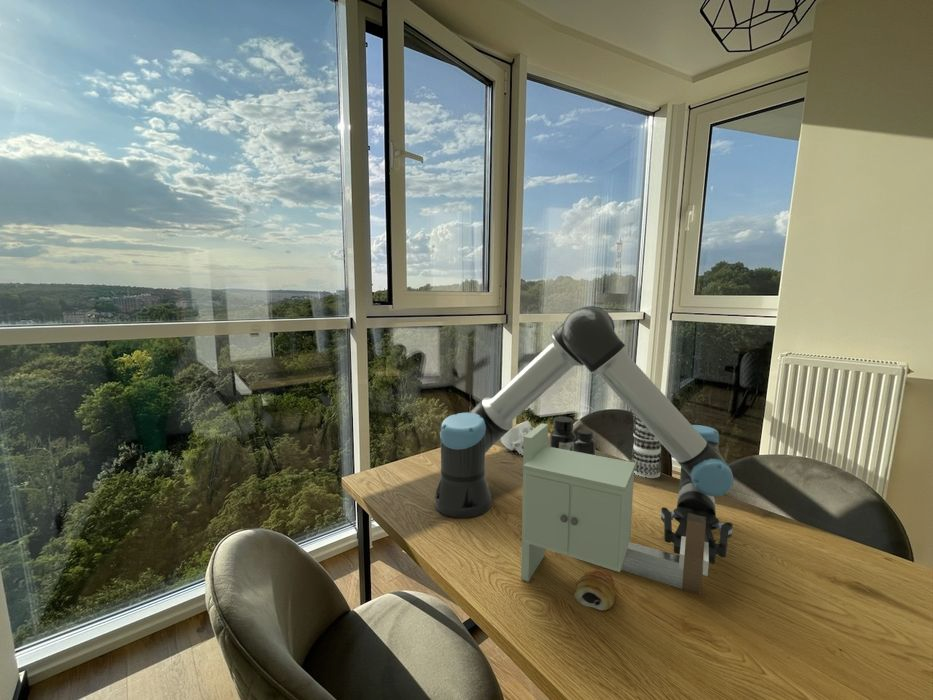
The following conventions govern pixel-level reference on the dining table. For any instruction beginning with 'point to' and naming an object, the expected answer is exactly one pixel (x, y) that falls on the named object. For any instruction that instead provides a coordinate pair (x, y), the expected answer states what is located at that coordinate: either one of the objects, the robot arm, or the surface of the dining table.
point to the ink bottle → (563, 434)
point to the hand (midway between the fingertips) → (693, 564)
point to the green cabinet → (574, 505)
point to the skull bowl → (516, 437)
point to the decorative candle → (645, 451)
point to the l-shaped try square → (671, 559)
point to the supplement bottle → (584, 442)
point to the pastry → (596, 590)
